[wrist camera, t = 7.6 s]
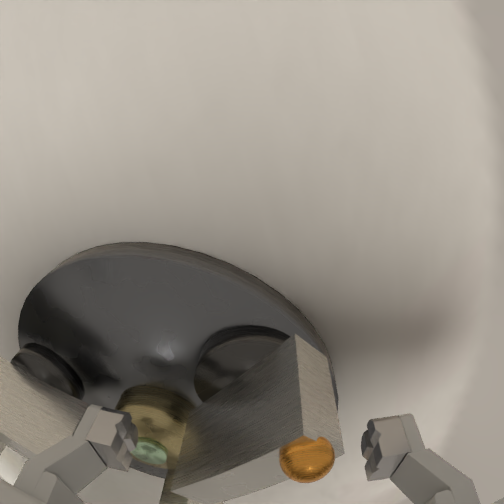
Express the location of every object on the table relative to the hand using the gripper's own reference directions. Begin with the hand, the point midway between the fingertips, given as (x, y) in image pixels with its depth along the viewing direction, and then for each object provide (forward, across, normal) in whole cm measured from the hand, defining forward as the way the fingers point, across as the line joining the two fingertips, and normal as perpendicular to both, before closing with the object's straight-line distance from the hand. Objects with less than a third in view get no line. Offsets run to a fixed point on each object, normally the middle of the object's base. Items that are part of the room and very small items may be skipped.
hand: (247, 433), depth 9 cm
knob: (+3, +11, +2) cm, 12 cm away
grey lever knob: (+3, 0, 0) cm, 3 cm away
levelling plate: (+5, +5, +4) cm, 8 cm away
